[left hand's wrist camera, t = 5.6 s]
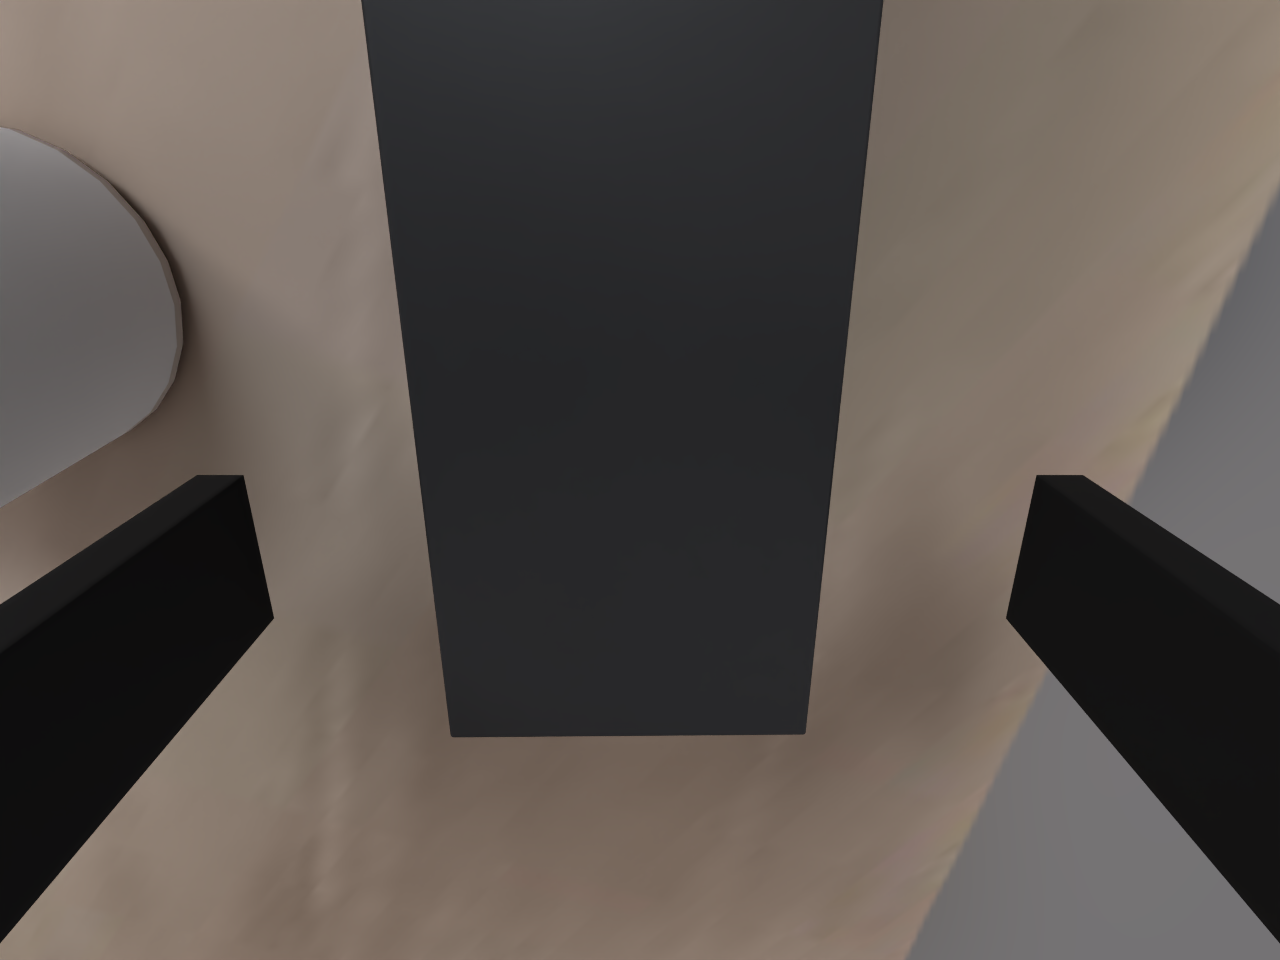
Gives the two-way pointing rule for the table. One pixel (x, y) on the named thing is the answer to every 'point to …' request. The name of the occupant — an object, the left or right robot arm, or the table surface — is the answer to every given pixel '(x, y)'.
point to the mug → (75, 314)
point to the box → (624, 344)
